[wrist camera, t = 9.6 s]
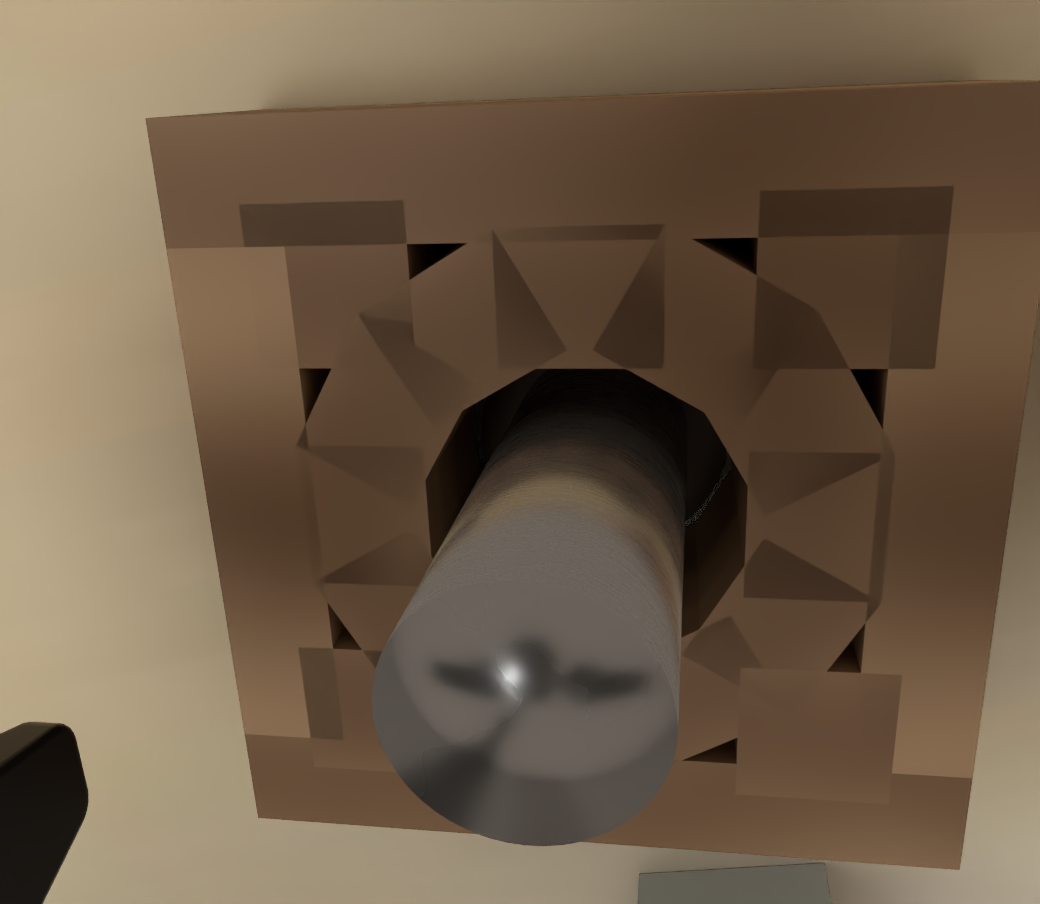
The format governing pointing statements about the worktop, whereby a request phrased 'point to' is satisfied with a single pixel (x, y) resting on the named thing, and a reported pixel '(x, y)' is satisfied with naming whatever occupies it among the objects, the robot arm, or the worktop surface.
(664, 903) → the gray rectangular block
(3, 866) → the robot arm
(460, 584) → the cylinder
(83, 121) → the worktop surface
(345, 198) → the bore block
